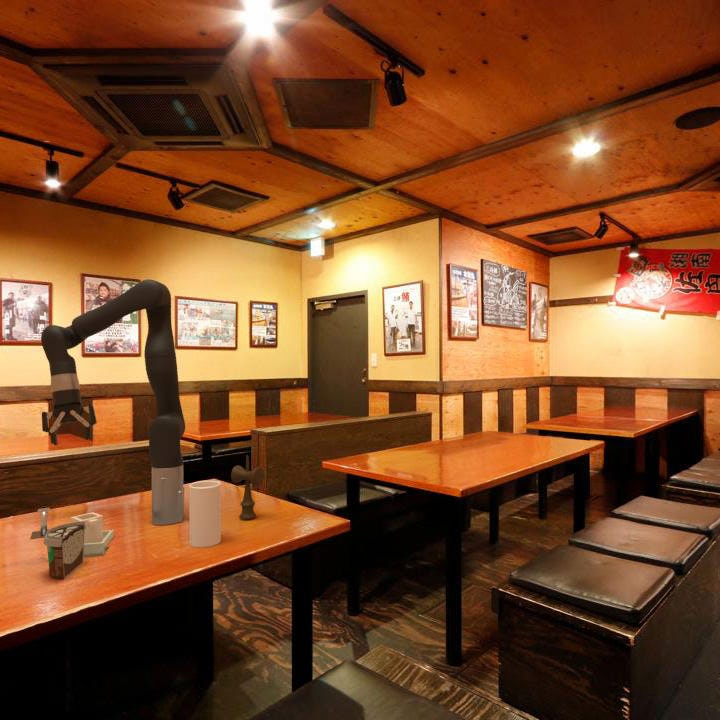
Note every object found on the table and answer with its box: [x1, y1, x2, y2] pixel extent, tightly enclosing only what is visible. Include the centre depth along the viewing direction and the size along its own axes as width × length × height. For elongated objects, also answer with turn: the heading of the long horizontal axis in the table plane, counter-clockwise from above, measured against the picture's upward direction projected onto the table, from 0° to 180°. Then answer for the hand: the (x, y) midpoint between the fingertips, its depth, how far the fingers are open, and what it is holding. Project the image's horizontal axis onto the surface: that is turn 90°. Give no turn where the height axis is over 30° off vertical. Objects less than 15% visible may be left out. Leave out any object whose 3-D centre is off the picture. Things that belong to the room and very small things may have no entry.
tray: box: [83, 529, 115, 558], centre depth 133 cm, size 10×10×3 cm
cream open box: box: [70, 511, 104, 544], centre depth 133 cm, size 6×7×8 cm
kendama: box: [230, 454, 265, 521], centre depth 159 cm, size 6×10×20 cm, turn 65°
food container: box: [43, 521, 86, 580], centre depth 119 cm, size 12×6×10 cm, turn 5°
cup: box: [189, 480, 222, 548], centre depth 138 cm, size 8×8×16 cm
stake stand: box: [29, 507, 51, 541], centre depth 142 cm, size 8×7×8 cm
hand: (72, 442), depth 153 cm, fingers open, 8 cm apart
